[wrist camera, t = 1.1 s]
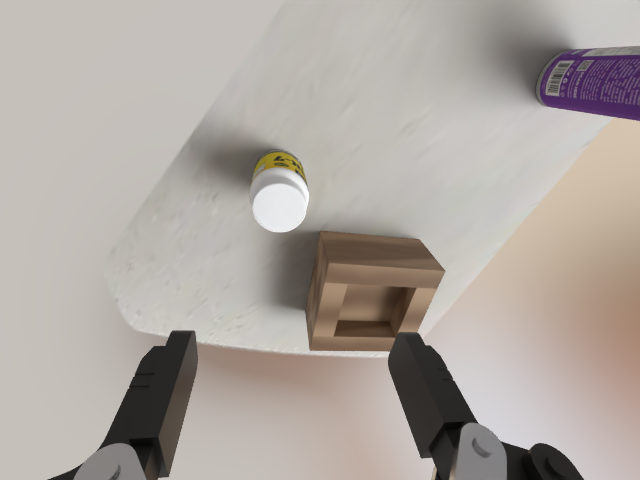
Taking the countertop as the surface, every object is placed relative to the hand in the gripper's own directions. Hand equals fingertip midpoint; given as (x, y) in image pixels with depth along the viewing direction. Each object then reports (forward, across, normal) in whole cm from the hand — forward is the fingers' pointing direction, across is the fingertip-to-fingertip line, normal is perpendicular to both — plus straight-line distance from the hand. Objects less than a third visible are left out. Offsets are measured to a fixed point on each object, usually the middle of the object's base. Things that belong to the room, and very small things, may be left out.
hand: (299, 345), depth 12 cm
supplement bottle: (+20, +1, 0) cm, 20 cm away
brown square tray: (+20, -10, +12) cm, 26 cm away
